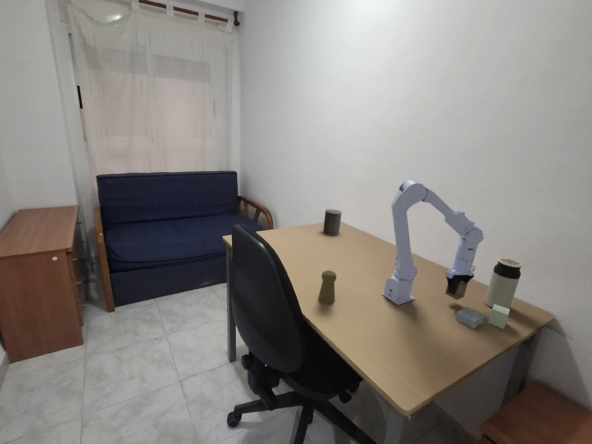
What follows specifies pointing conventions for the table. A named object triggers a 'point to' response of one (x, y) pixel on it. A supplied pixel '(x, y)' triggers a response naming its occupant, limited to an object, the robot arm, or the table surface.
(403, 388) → the table surface
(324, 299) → the olive pawn
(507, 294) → the travel mug
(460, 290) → the walnut block
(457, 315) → the slate slab
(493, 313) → the sage block
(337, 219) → the pillar candle
